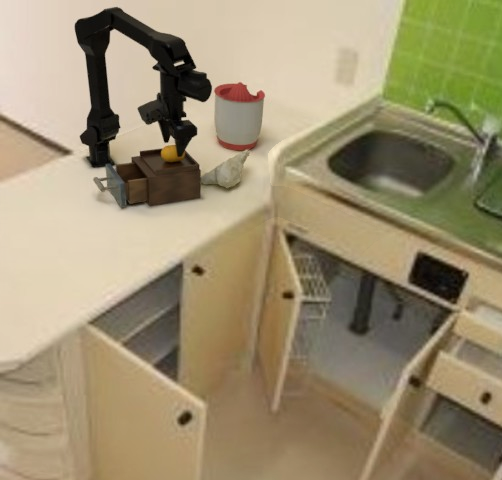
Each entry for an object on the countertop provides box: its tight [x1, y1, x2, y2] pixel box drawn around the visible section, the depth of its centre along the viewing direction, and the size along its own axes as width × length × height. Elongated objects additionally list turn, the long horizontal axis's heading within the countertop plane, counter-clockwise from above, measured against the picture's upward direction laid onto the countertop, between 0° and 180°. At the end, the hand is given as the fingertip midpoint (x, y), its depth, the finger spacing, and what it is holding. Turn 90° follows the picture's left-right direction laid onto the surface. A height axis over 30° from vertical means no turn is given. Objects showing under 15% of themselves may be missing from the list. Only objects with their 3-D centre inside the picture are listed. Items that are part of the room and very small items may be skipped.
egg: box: [161, 144, 185, 162], centre depth 171 cm, size 6×4×4 cm
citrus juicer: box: [213, 81, 266, 152], centre depth 203 cm, size 16×17×20 cm
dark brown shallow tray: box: [139, 147, 200, 176], centre depth 172 cm, size 12×12×2 cm
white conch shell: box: [201, 149, 251, 189], centre depth 184 cm, size 15×7×15 cm
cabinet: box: [131, 155, 202, 207], centre depth 174 cm, size 14×13×8 cm
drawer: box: [92, 161, 149, 208], centre depth 169 cm, size 18×12×7 cm, turn 122°
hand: (172, 149), depth 170 cm, fingers open, 9 cm apart
